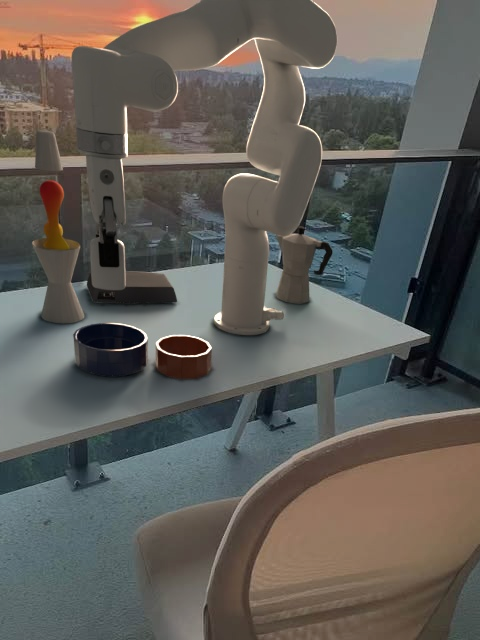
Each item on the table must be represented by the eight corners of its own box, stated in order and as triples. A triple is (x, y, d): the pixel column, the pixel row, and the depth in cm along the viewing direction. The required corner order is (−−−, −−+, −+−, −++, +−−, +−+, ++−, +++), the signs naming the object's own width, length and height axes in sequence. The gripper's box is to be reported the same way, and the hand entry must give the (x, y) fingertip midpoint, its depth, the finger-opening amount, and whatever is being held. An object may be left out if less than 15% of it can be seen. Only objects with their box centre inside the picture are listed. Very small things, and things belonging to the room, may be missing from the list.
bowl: (142, 348, 124) (141, 322, 121) (152, 377, 115) (152, 350, 112) (73, 350, 120) (71, 323, 117) (78, 380, 110) (75, 351, 107)
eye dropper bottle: (102, 280, 111) (99, 209, 105) (130, 287, 110) (128, 216, 103) (87, 286, 108) (83, 213, 101) (115, 293, 107) (112, 220, 100)
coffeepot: (263, 296, 160) (269, 224, 150) (275, 287, 168) (282, 218, 158) (319, 310, 158) (329, 237, 147) (329, 300, 165) (340, 230, 155)
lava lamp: (90, 321, 132) (78, 137, 112) (46, 325, 127) (25, 133, 108) (78, 306, 138) (64, 129, 118) (35, 309, 133) (13, 125, 114)
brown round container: (203, 355, 126) (204, 334, 123) (215, 378, 118) (216, 356, 116) (152, 356, 122) (152, 335, 120) (161, 380, 114) (161, 357, 112)
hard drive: (86, 286, 149) (85, 269, 147) (166, 286, 157) (166, 270, 154) (92, 305, 140) (91, 287, 137) (178, 305, 147) (178, 288, 145)
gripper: (134, 155, 92) (137, 278, 102) (120, 137, 104) (124, 249, 114) (81, 150, 89) (89, 277, 99) (73, 133, 101) (81, 247, 111)
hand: (108, 261), depth 106 cm, fingers closed on eye dropper bottle, 3 cm apart
